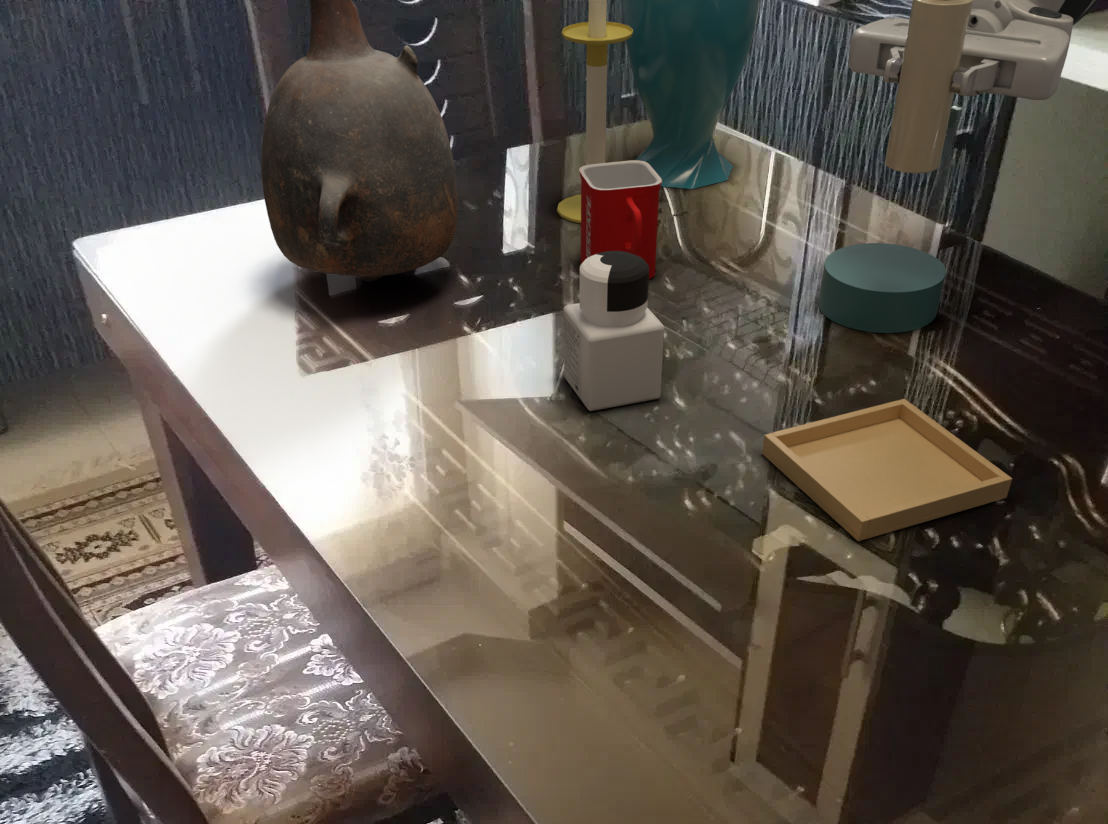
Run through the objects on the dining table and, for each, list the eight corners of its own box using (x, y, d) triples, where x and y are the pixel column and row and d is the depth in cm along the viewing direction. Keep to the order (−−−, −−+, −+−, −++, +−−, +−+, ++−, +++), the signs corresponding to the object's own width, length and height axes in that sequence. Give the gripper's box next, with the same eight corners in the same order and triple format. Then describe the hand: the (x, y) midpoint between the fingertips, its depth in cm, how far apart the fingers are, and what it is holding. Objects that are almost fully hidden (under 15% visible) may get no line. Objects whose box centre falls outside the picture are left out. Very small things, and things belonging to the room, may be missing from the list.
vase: (662, 201, 152) (677, -75, 130) (595, 162, 162) (599, -98, 141) (768, 176, 157) (798, -92, 136) (696, 140, 168) (714, -113, 147)
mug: (575, 259, 139) (575, 165, 131) (641, 252, 140) (645, 159, 133) (600, 301, 131) (602, 203, 123) (670, 293, 132) (675, 196, 124)
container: (633, 365, 120) (637, 238, 110) (661, 399, 115) (669, 269, 105) (563, 377, 118) (562, 250, 109) (588, 413, 113) (589, 282, 104)
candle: (648, 207, 150) (664, -154, 124) (600, 230, 145) (607, -141, 118) (589, 189, 155) (592, -162, 128) (541, 212, 150) (534, -150, 123)
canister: (917, 151, 115) (951, -28, 104) (950, 168, 111) (989, -17, 101) (874, 160, 113) (904, -22, 103) (905, 177, 110) (940, -9, 99)
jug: (490, 306, 130) (473, -2, 109) (303, 339, 125) (248, 22, 104) (430, 228, 146) (406, -54, 125) (263, 254, 142) (208, -34, 120)
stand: (890, 274, 134) (898, 235, 131) (961, 318, 126) (971, 278, 123) (795, 295, 131) (801, 255, 128) (861, 342, 122) (869, 301, 119)
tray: (900, 417, 111) (904, 398, 110) (1006, 498, 101) (1012, 478, 100) (761, 453, 107) (764, 434, 106) (858, 541, 97) (862, 521, 96)
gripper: (886, -7, 116) (827, 25, 109) (1091, 18, 108) (1043, 54, 100) (875, 63, 121) (817, 99, 113) (1071, 93, 112) (1023, 133, 104)
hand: (925, 78), depth 106 cm, fingers closed on canister, 5 cm apart
